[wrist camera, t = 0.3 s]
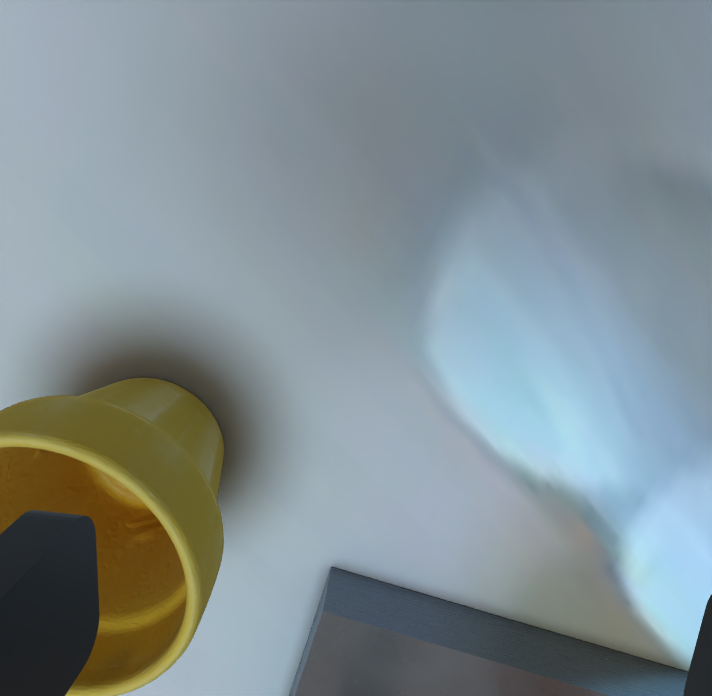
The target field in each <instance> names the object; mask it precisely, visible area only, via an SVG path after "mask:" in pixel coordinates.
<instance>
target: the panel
mask: <svg viewBox="0 0 712 696" xmlns="http://www.w3.org/2000/svg"><path fill="white" fill-rule="evenodd" d="M687 676H688V672H685V671H682V670H679V669H675V668H672V667H668V666H665V665H662V664H658V663H655V662H652V661H648V660H645V659H641V658H638V657H635V656H631V655H628V654H624V653H621V652H618V651H614V650H611V649H607V648H604V647H601V646H597V645H594V644H591V643H587V642H584V641H580V640H577V639H574V638H570V637H567V636H563V635H560V634H557V633H553V632H550V631H546V630H543V629H540V628H536V627H533V626H530V625H526V624H523V623H519V622H516V621H513V620H509V619H506V618H502V617H499V616H496V615H492V614H489V613H485V612H482V611H479V610H475V609H472V608H469V607H465V606H462V605H458V604H455V603H452V602H448V601H445V600H441V599H438V598H435V597H431V596H428V595H424V594H421V593H418V592H414V591H411V590H408V589H404V588H401V587H397V586H394V585H391V584H387V583H384V582H380V581H377V580H374V579H370V578H367V577H363V576H360V575H357V574H353V573H350V572H347V571H343V570H340V569H336V568H333V567H331V570H330V573H329V576H328V579H327V582H326V585H325V588H324V591H323V594H322V597H321V600H320V603H319V606H318V609H317V612H316V616H315V619H314V622H313V625H312V628H311V631H310V634H309V637H308V640H307V643H306V646H305V649H304V652H303V655H302V658H301V662H300V665H299V668H298V671H297V674H296V677H295V680H294V683H293V686H292V689H291V692H290V695H289V696H684V688H685V684H686V680H687Z"/></svg>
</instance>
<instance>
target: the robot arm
mask: <svg viewBox="0 0 712 696" xmlns="http://www.w3.org/2000/svg"><path fill="white" fill-rule="evenodd" d="M99 616H100V611H99V590H98V569H97V548H96V531H95V526H94V523H93V521H92V519H91V518H90V517H88V516H84V515H75V514H66V513H57V512H48V511H39V510H30V511H27V512H25V513H24V514H23V515H21V516H20V517H19V518H18V519H17V520H16V521H15V522H13V523H12V524H11V525H10V526H9V527H8V528H7V529H6V530H4V531H3V532H2V533H1V534H0V696H65V695H66V694H67V692H68V691H69V689H70V687H71V686H72V684H73V683H74V681H75V680H76V678H77V677H78V675H79V674H80V672H81V671H82V669H83V668H84V666H85V664H86V663H87V661H88V659H89V656H90V654H91V652H92V649H93V646H94V643H95V640H96V636H97V632H98V626H99ZM684 696H712V595H711V596H710V598H709V600H708V602H707V605H706V609H705V613H704V616H703V620H702V624H701V628H700V631H699V635H698V639H697V642H696V646H695V650H694V654H693V657H692V661H691V665H690V669H689V672H688V676H687V680H686V684H685V688H684Z"/></svg>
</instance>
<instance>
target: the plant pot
mask: <svg viewBox="0 0 712 696" xmlns="http://www.w3.org/2000/svg"><path fill="white" fill-rule="evenodd" d="M223 459H224V441H223V436H222V433H221V430H220V428H219V425H218V423H217V421H216V419H215V418H214V416H213V414H212V413H211V412H210V410H209V409H208V408H207V407H206V406H205V404H204V403H203V402H202V401H200V400H199V399H198V398H197V397H196V396H194V395H193V394H192V393H190V392H189V391H187V390H185V389H184V388H182V387H180V386H178V385H176V384H173V383H171V382H168V381H164V380H160V379H155V378H131V379H126V380H122V381H119V382H116V383H113V384H110V385H107V386H104V387H102V388H99V389H96V390H93V391H91V392H88V393H85V394H82V395H79V396H63V395H61V396H47V397H40V398H34V399H30V400H26V401H23V402H20V403H17V404H14V405H12V406H10V407H7V408H5V409H3V410H1V411H0V534H1V533H2V532H3V531H4V530H6V529H7V528H8V527H9V526H10V525H11V524H12V523H13V522H15V521H16V520H17V519H18V518H19V517H20V516H21V515H23V514H24V513H25V512H27V511H30V510H39V511H48V512H57V513H66V514H75V515H84V516H88V517H90V518H91V519H92V521H93V523H94V526H95V531H96V548H97V569H98V590H99V611H100V616H99V626H98V632H97V636H96V640H95V643H94V646H93V649H92V652H91V654H90V656H89V659H88V661H87V663H86V664H85V666H84V668H83V669H82V671H81V672H80V674H79V675H78V677H77V678H76V680H75V681H74V683H73V684H72V686H71V687H70V689H69V691H68V692H67V694H66V695H65V696H117V695H121V694H124V693H127V692H130V691H133V690H136V689H138V688H140V687H142V686H144V685H146V684H148V683H150V682H151V681H153V680H155V679H156V678H158V677H159V676H160V675H162V674H163V673H164V672H165V671H166V670H168V669H169V668H170V667H171V666H172V665H173V664H174V663H175V662H176V661H177V660H178V659H179V657H180V656H181V655H182V654H183V653H184V651H185V650H186V648H187V647H188V645H189V643H190V642H191V640H192V638H193V636H194V634H195V632H196V629H197V627H198V625H199V622H200V620H201V618H202V615H203V613H204V611H205V608H206V606H207V603H208V600H209V598H210V595H211V592H212V590H213V587H214V584H215V581H216V578H217V575H218V571H219V568H220V564H221V559H222V554H223V544H224V538H223V524H222V518H221V513H220V509H219V506H218V502H217V498H218V491H219V484H220V477H221V471H222V466H223Z"/></svg>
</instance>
